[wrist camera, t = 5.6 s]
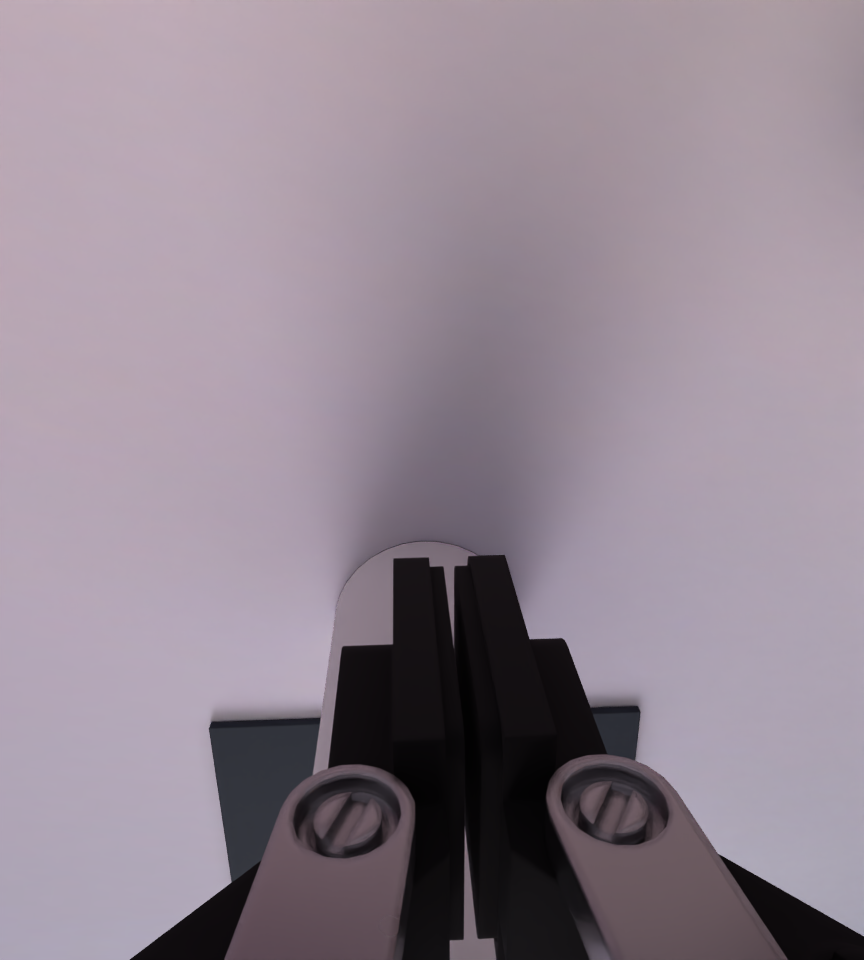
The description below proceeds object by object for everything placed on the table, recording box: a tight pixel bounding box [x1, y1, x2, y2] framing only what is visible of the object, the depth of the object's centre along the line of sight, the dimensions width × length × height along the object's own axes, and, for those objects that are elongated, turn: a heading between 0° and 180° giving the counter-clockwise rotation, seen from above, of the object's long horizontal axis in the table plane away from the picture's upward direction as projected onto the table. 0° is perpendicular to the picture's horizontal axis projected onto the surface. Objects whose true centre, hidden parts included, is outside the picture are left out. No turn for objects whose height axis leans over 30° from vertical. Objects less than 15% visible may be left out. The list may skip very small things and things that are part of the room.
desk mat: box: [209, 706, 640, 882], centre depth 35 cm, size 18×20×1 cm
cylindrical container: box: [313, 542, 496, 960], centre depth 18 cm, size 7×7×25 cm
